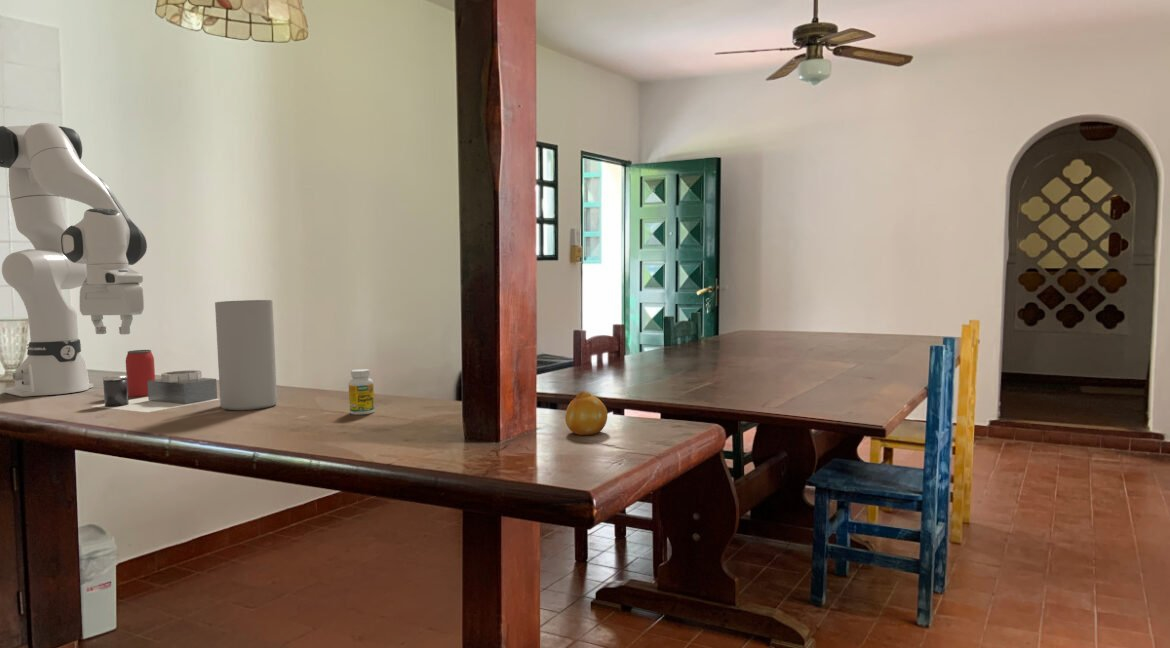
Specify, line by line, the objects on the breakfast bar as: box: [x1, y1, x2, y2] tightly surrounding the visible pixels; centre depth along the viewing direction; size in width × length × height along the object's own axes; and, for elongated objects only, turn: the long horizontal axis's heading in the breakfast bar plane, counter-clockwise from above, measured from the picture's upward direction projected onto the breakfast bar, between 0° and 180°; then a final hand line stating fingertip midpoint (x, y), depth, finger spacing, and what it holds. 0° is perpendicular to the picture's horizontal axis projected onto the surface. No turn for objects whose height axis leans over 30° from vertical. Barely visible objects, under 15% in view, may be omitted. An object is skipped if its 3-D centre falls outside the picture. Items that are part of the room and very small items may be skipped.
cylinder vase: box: [214, 299, 278, 412], centre depth 197 cm, size 12×12×25 cm
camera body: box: [147, 369, 218, 404], centre depth 208 cm, size 14×9×7 cm, turn 61°
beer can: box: [125, 349, 156, 398], centre depth 217 cm, size 7×7×12 cm
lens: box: [102, 374, 129, 407], centre depth 201 cm, size 5×5×7 cm
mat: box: [90, 396, 220, 414], centre depth 204 cm, size 22×20×1 cm
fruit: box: [564, 391, 608, 436], centre depth 158 cm, size 8×8×8 cm
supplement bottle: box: [348, 368, 375, 416], centre depth 185 cm, size 5×5×10 cm
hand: (112, 334), depth 200 cm, fingers open, 8 cm apart
